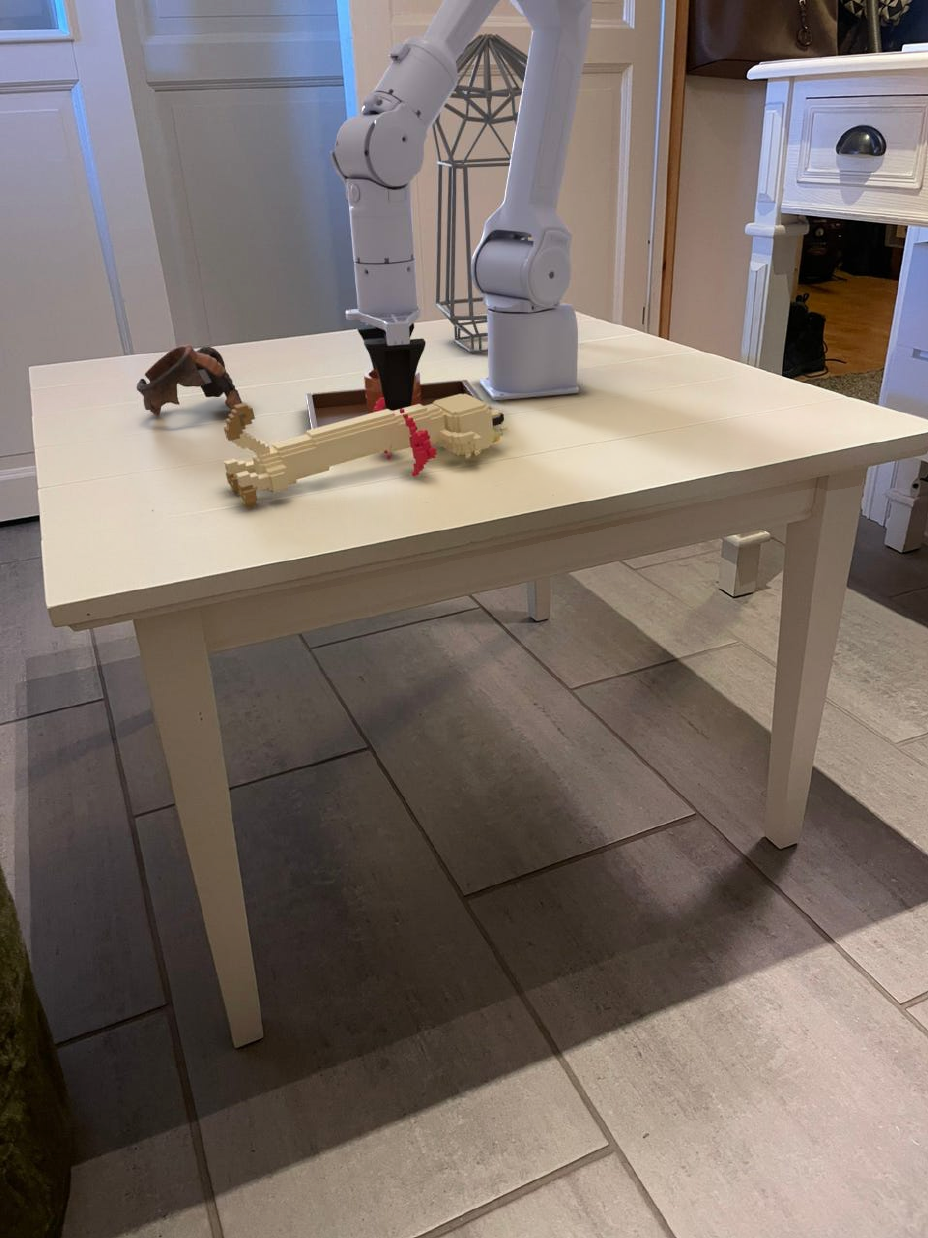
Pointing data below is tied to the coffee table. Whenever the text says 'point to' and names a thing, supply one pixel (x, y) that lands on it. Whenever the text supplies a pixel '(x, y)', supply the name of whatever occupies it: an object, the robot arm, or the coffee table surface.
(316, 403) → the tray
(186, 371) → the broken pottery shard
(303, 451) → the cat figure
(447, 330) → the coffee table surface
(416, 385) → the cup
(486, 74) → the geometric lantern
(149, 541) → the coffee table surface
